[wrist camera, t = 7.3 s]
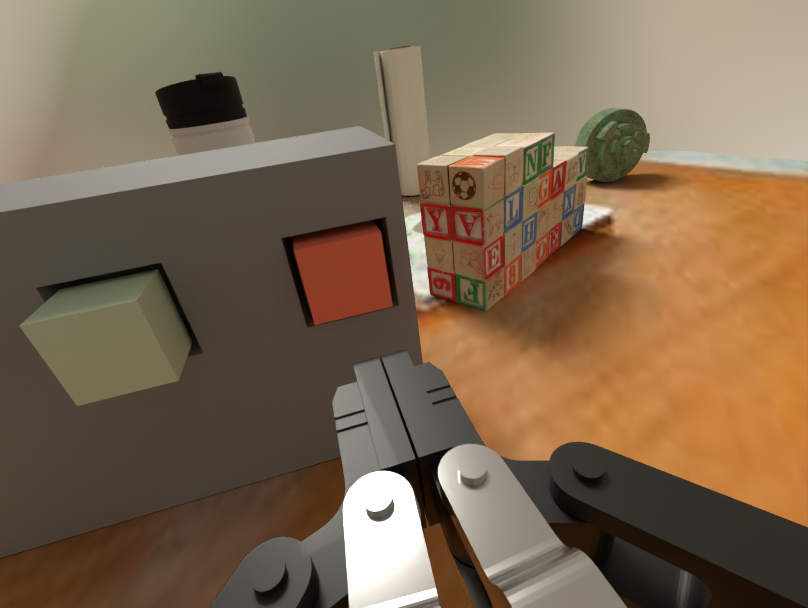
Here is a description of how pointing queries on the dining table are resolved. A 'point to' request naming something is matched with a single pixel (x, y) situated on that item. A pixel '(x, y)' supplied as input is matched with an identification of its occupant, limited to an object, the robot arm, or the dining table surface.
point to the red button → (343, 271)
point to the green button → (111, 336)
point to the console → (190, 325)
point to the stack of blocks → (498, 212)
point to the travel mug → (205, 114)
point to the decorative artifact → (613, 143)
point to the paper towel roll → (404, 110)
